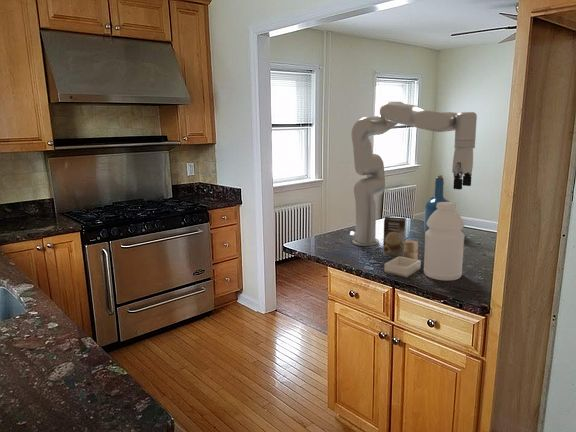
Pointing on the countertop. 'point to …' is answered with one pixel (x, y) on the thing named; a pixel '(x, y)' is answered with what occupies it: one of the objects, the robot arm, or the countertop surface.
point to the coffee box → (394, 236)
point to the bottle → (444, 243)
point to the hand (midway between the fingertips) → (462, 187)
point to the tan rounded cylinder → (411, 249)
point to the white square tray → (402, 266)
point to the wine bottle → (434, 200)
